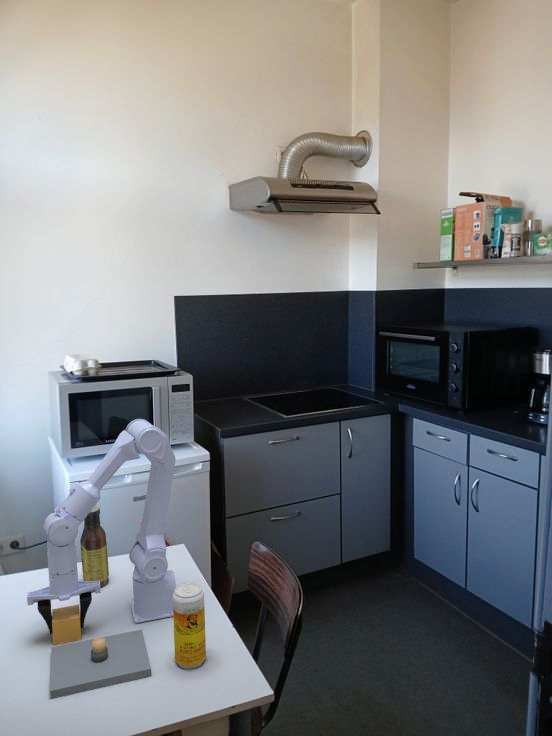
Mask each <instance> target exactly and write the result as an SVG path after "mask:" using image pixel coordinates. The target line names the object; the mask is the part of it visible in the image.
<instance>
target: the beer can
mask: <svg viewBox="0 0 552 736" xmlns="http://www.w3.org/2000/svg"><path fill="white" fill-rule="evenodd" d="M205 611H206V610H205V592H204V591H203V588H202V586H201V585H200V584H197V583H193V582H188V583H182V584H180V585H178V586H176V589H175V591H174V594H173V616H172V617H173V640H174V642H173V643H174V660H175V662H176V663H177V664H178V666H179V667H180V668H183V669H189V670H190V669H194V668H195V669H196V668H199V666H201V665H202V664H203V662H204V661H205V659H206V658H207V651H206V650H207V648H206V647H207V646H206V645H207V643H206V617H205V616H206V615H205V614H206V613H205Z"/></svg>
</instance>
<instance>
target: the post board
mask: <svg viewBox="0 0 552 736" xmlns="http://www.w3.org/2000/svg"><path fill="white" fill-rule="evenodd" d="M144 637H145V636H144V632H143V629H137V630H131V631H127V632H122V633H117V634H112V635H107V636H102V637H96V638H92V639H86V640H81V641H77V642H76V641H75V642H72V643H71V642H70V643H67V644H62V645H58V646H56V645H55V646H51V651H50V652H51V653H50V683H49V686H50V687H49V693H50V694H49V695H50V699H55V698H60V697H63V696H68V695H73V694H76V693H77V694H78V693H81V692H86V691H90V690H95V689H100V688H104V687H109V686H112V685H117V684H123V683H126V682H131V681H136V680H139V679H144V678H148V677H151V676H152V666H151V663H150V658H149V654H148V651H147V645H146V642H145V638H144Z"/></svg>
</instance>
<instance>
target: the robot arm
mask: <svg viewBox="0 0 552 736" xmlns="http://www.w3.org/2000/svg"><path fill="white" fill-rule="evenodd" d="M114 441H115V442H114V443H113V445H112V446H111V447H110V449H109V451H108V452H107V453H106V454H105V455H104V457H103V458H102V460H101V461H100V462H99V465H97V466H96V468H95V469H94V471H93V472H92V474H90V477H89V478H88V479H87V480H85V481H81V482H78V483H77V484H76V485H75V486H74V485H72V486H71V487H70V488H69V490H68V492H69V494H68V496H66V497H65V499H64V500H63V501H62V503H61V504H60V505H59V506H56V507H55V508H54V512H52V513H50V514H49V515H48V516H47V517H46V519H45V520H44V524H43V525H42V527H43V531H44V532H45V534H46V536H47V537H46V539H47V542H46V547H47V549H46V550H47V551H46V552H47V554H46V555H47V567H48V569H47V570H48V571H47V572H48V583H49V586H46V587H43V588H40V589H37V590H34V591H29V592H27V595H26V600H27V601H26V602H27V606H32V605H34V604H36V603H37V611H38V613H39V614H40V615H41V617H42V619H43V620H44V621H45V623H46V627H47V629H48V631H49V635H51V636H52V635H53V631H52V601H54V600H59V602H63V601H69V600H70V599H71V598H72V597H75V596H79V609H80V627H81V630H82V629H85V621H86V617H87V613H88V610H89V607H90V605H91V604H92V600H93V598H92V594H93V593H94V594H101V593H102V590H101V587H100V581H84V580H82V581H79V577H78V576H79V574H78V572H79V571H78V558H77V557H78V555H77V546H76V540H75V539H76V538H77V537H78V534H79V526H80V525H81V524H82V523H84V519H85V518H86V517H87V515H88V514H89V513H90V511H91V510H92V509H93V508H94V506H97V504H98V503H99V501H100V500H101V490H102V489H103V487H104V486H106V485H107V483H108V482H109V481H110V480H111V478H113V476H114V475H115V474H116V473H117V472H118V470H119V469H120V468H121V467H122V466H123V465H124V463H126V462H129V461H134V460H139V459H141V456H140V455H139V453H140V454H142V455H143V456H145V457H146V459H147V460H148V461H149V462H150V470H149V476H148V482H147V489H146V494H145V499H144V501H145V502H144V506H143V513H142V519H141V520H142V521H141V524H140V525H141V527H140V531H139V532H138V533H136V535H135V541H134V542H133V544H132V546H131V547H130V550H129V554H128V557H129V558H128V559H129V560H130V562H131V563H132V564H133V565H134V569H133V571H132V589H133V593H132V594H133V603H131V604H130V608H131V613H132V618H133V621H134V623H135V624H139V623H144V622H149V621H155V620H160V619H164V618H170V617H173V594H174V591H175V589H176V587H177V586H176V585H177V584H176V578H175V572H174V571H173V570H171V569H170V570H168V566H169V563H168V562H169V561H168V560H167V556H166V555H167V554H166V553H167V545H166V541H165V536H164V535H165V530H166V523H167V517H168V512H169V511H168V509H169V505H170V498H171V492H172V485H173V478H174V473H175V468H176V461H177V460H176V456H175V453H174V450H173V449H172V446H171V444H170V441H169V436H167V434H166V433H165V432H163V430H161V429H160V428H159V427H156V426H154V425H153V424H152V423H150V421H148V420H147V419H143V418H136V419H134V420H132V421H130V422H129V423H128V424H127V426H126V428H125V429H124V430H122V431H121V432H120V433H119V435H118V436H117V438H116V440H114Z"/></svg>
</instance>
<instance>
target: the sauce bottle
mask: <svg viewBox="0 0 552 736" xmlns="http://www.w3.org/2000/svg"><path fill="white" fill-rule="evenodd" d="M100 516H101V508H100V507H99V506H98V505H95V506H94V508H93V509H92V510H91V511H90V513H89V514H88V515H87V517H86V518H85V519H84V520H83V523H84V524H83V530H82V534H81V536H80V539H79V540H80V541H79V543H80V545H79V546H80V555H81V569H82V581H100V588H102V587H104V586H105V585H107V584H108V583H109V575H110V570H109V558H108V557H109V554H108V553H109V552H108V542H107V533H106V532H105V529H104V528H103V527H102V525H101V517H100Z"/></svg>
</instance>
